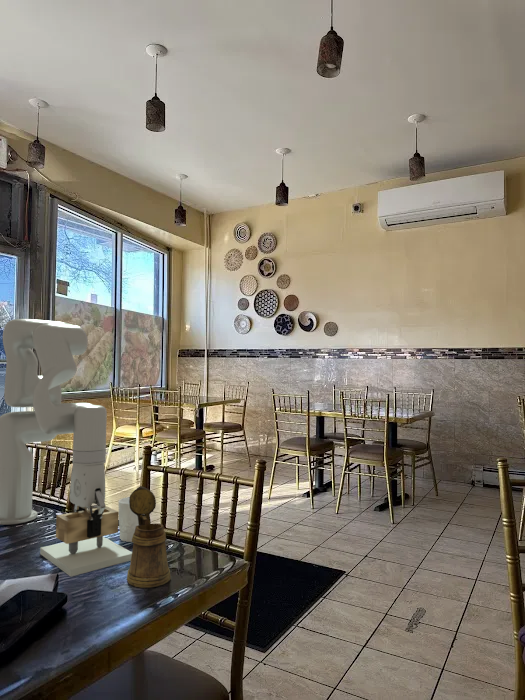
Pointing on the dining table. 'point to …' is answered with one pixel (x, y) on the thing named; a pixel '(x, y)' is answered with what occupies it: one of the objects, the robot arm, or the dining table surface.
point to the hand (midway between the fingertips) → (87, 532)
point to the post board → (85, 555)
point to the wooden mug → (147, 544)
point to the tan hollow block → (84, 525)
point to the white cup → (126, 520)
